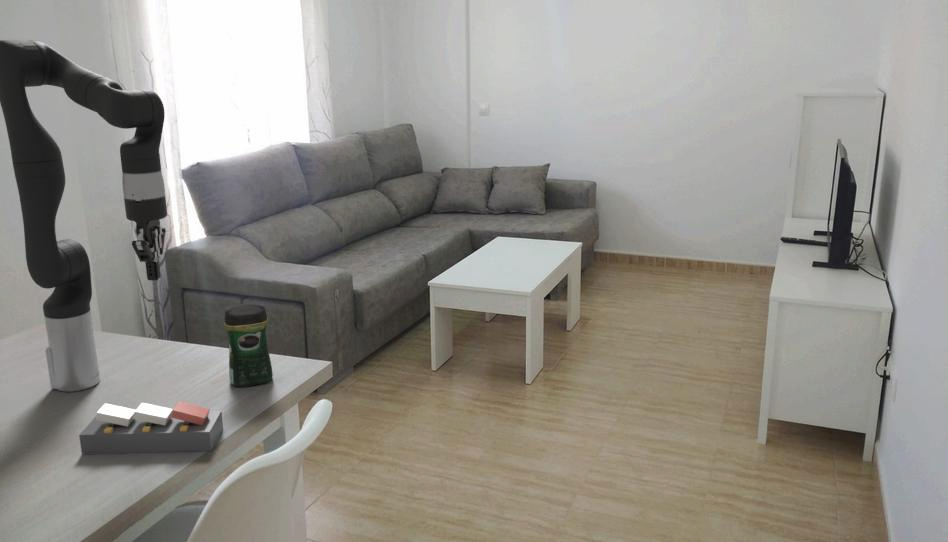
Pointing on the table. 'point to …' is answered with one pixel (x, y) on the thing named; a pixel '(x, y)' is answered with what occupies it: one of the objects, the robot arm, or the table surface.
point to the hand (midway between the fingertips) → (154, 279)
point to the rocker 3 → (190, 413)
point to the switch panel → (151, 436)
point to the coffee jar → (248, 344)
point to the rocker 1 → (115, 414)
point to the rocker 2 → (153, 414)
